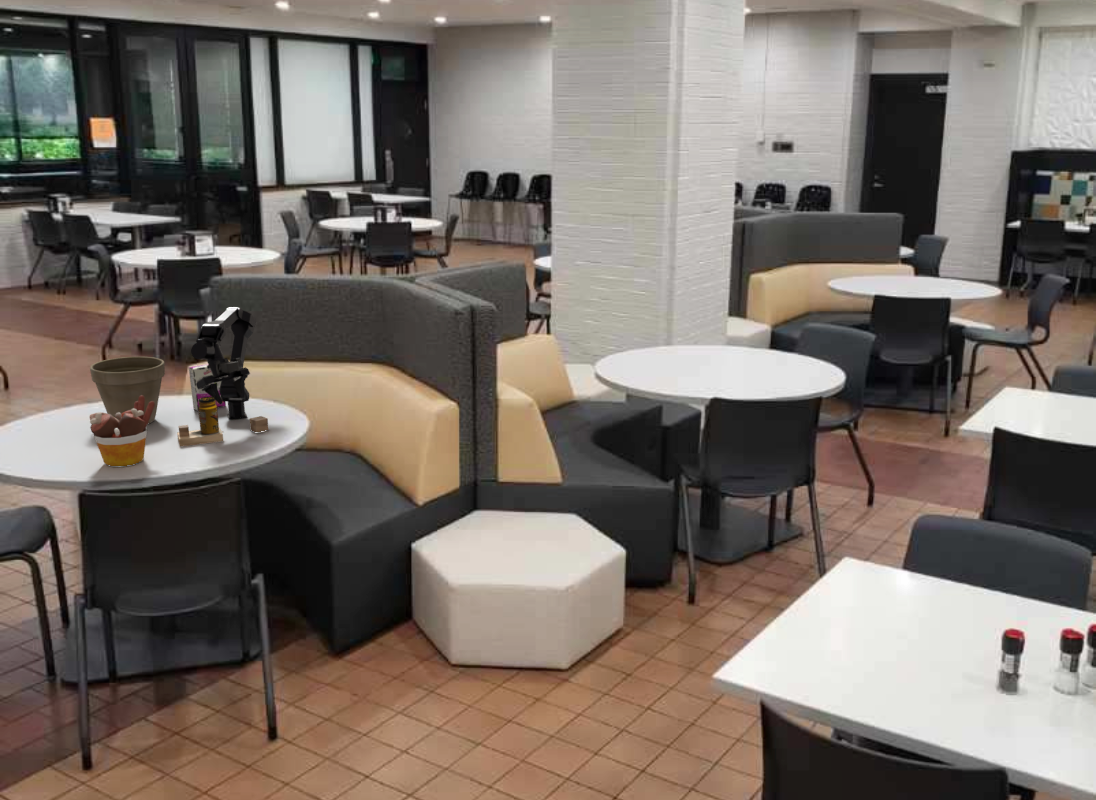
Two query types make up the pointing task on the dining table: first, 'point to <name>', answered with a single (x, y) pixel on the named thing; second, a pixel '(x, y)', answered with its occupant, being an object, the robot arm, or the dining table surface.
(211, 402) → the condiment
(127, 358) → the plant pot
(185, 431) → the foundation
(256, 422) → the block
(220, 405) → the candy bar box
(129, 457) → the bucket of meat
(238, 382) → the robot arm
